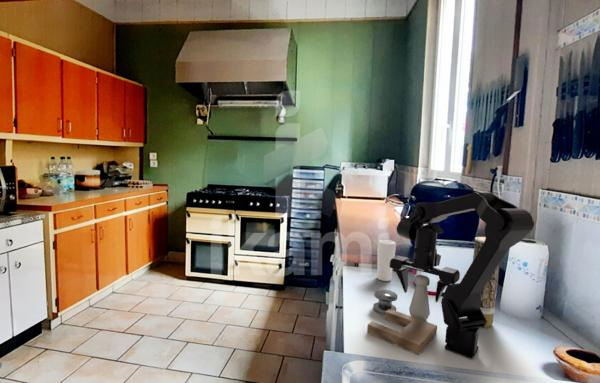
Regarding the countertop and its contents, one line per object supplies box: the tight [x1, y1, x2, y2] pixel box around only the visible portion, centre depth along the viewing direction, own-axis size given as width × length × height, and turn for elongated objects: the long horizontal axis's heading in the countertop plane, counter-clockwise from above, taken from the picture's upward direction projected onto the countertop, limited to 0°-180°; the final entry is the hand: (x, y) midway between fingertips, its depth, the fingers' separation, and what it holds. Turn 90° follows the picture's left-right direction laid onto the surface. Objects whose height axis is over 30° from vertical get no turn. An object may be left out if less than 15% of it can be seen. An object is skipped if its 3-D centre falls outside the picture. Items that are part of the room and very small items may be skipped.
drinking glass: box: [376, 239, 397, 282], centre depth 129 cm, size 7×7×15 cm
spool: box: [372, 289, 398, 315], centre depth 104 cm, size 7×7×5 cm
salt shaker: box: [408, 274, 431, 322], centre depth 99 cm, size 6×6×13 cm
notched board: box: [366, 309, 438, 356], centre depth 90 cm, size 14×13×2 cm
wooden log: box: [472, 236, 501, 328], centre depth 98 cm, size 7×7×25 cm
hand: (420, 296), depth 99 cm, fingers open, 9 cm apart
